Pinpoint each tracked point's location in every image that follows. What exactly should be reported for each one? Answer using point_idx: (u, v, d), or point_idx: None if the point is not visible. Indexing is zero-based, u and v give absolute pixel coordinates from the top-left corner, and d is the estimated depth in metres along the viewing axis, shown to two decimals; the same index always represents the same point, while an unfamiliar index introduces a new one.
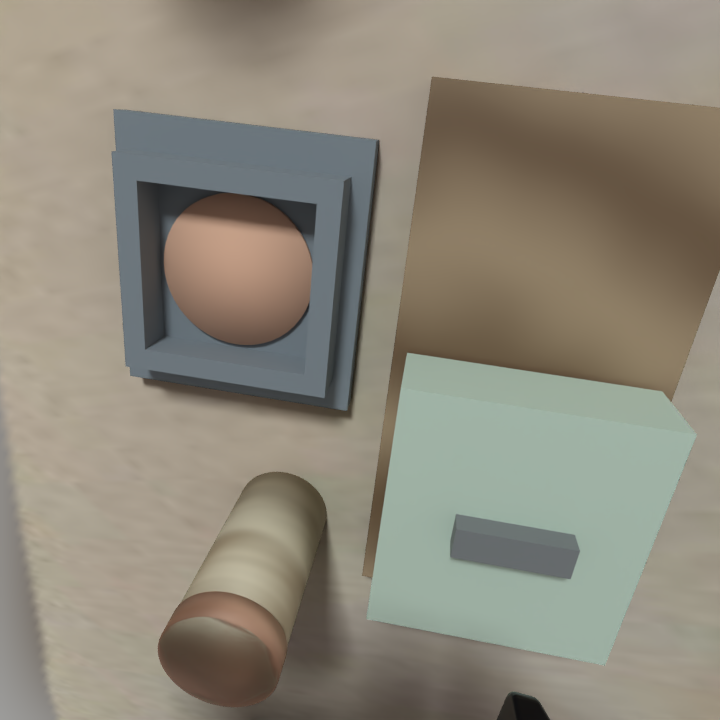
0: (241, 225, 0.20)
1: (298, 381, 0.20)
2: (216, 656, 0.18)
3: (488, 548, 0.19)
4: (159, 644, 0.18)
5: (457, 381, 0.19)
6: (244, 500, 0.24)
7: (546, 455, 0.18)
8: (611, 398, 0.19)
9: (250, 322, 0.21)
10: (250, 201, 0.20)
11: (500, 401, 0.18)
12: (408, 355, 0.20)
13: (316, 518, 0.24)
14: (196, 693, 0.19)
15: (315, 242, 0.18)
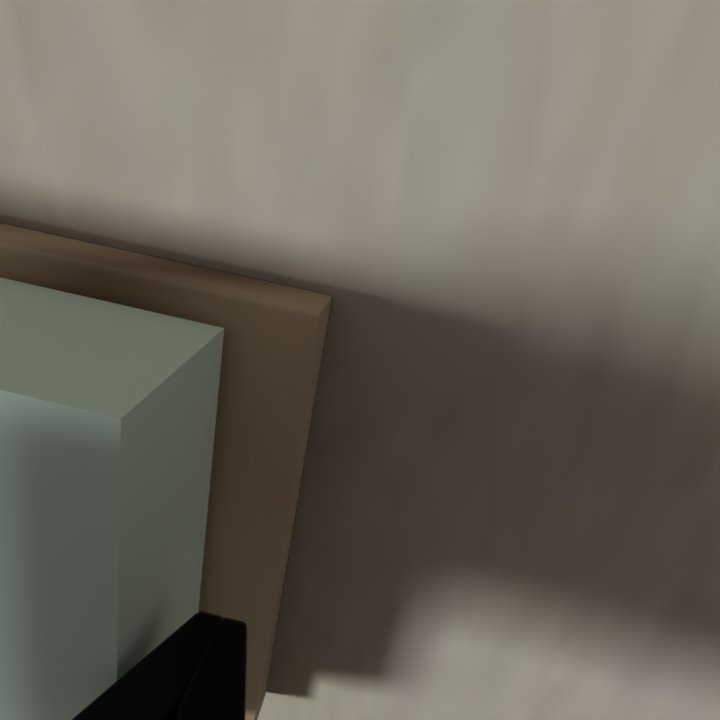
0: None
1: None
2: None
3: None
4: None
5: None
6: None
7: None
8: None
9: None
10: None
11: None
12: None
13: None
14: None
15: None
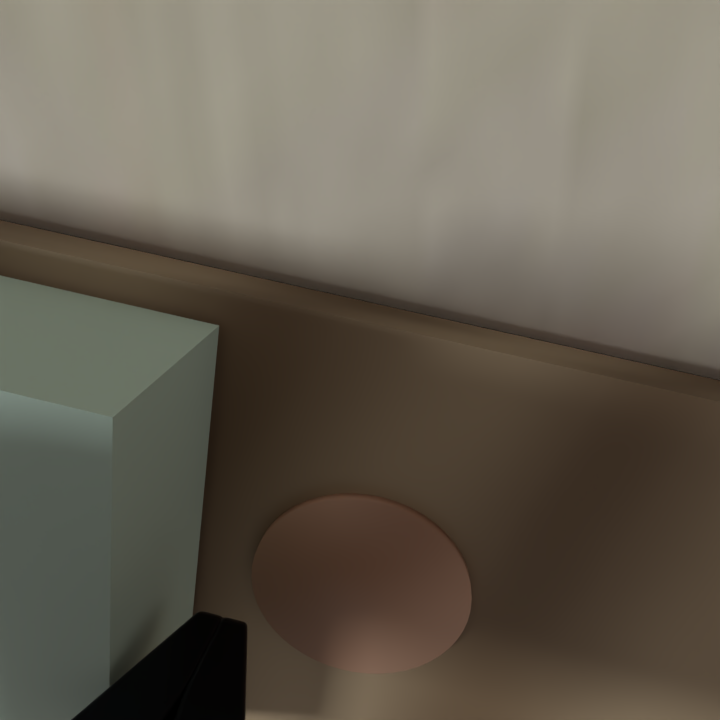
0: None
1: None
2: None
3: None
4: None
5: None
6: None
7: None
8: None
9: None
10: None
11: None
12: None
13: None
14: None
15: None
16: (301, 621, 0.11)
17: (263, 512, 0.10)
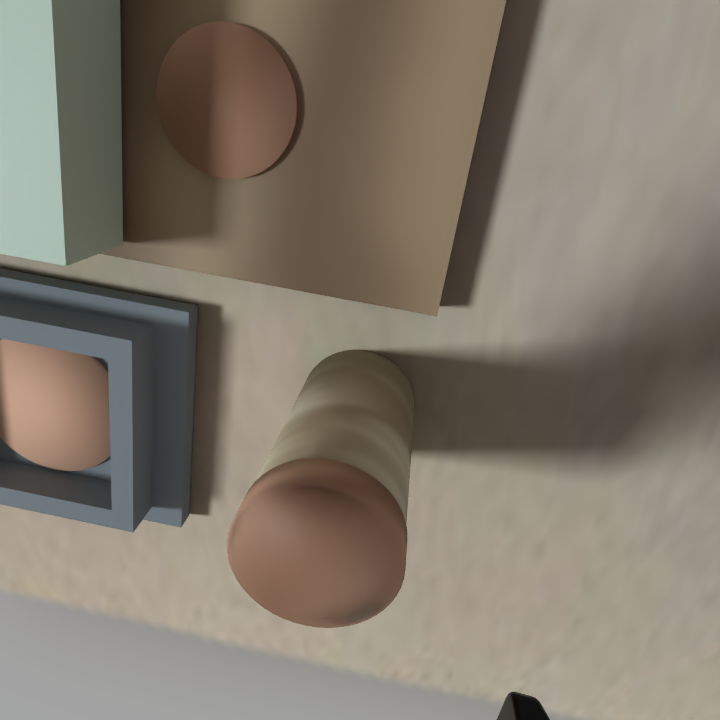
0: (4, 394, 0.21)
1: (117, 366, 0.18)
2: (301, 558, 0.13)
3: None
4: (293, 620, 0.14)
5: None
6: None
7: None
8: None
9: (97, 401, 0.20)
10: None
11: None
12: None
13: (333, 367, 0.18)
14: (381, 599, 0.13)
15: None
16: (192, 138, 0.16)
17: (161, 50, 0.16)
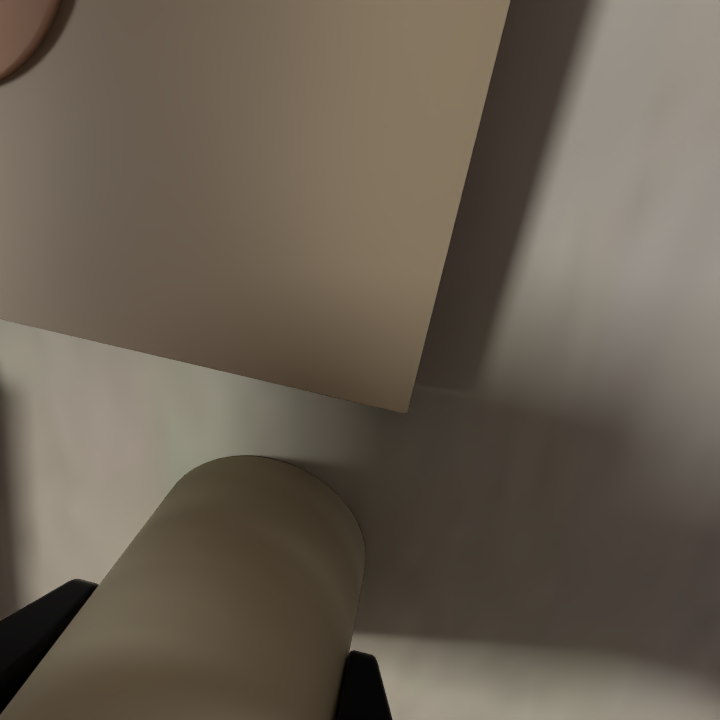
0: None
1: None
2: None
3: None
4: None
5: None
6: None
7: None
8: None
9: None
10: None
11: None
12: None
13: (192, 503, 0.09)
14: None
15: None
16: None
17: None
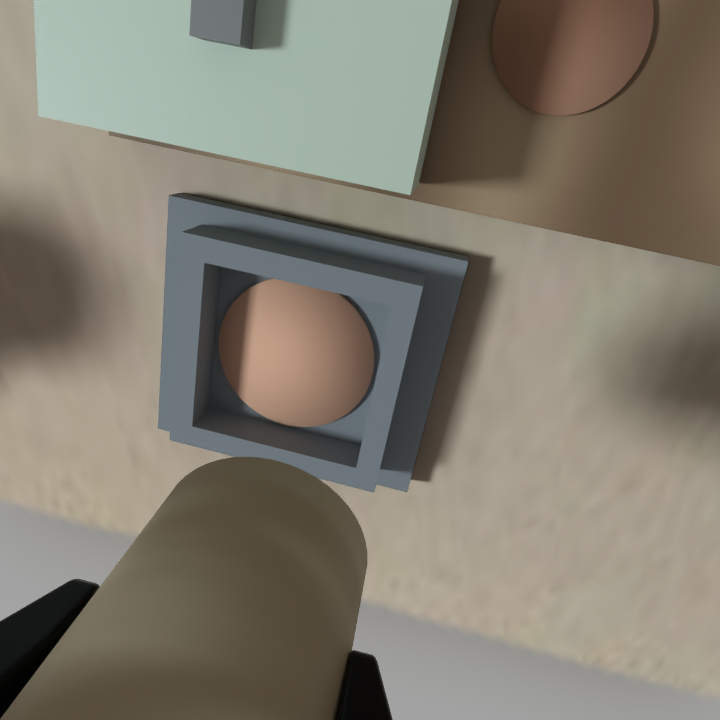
0: (247, 342, 0.20)
1: (399, 313, 0.17)
2: None
3: None
4: None
5: None
6: None
7: None
8: None
9: (348, 354, 0.19)
10: (225, 328, 0.20)
11: None
12: None
13: (194, 504, 0.09)
14: None
15: (241, 269, 0.18)
16: (523, 70, 0.15)
17: None
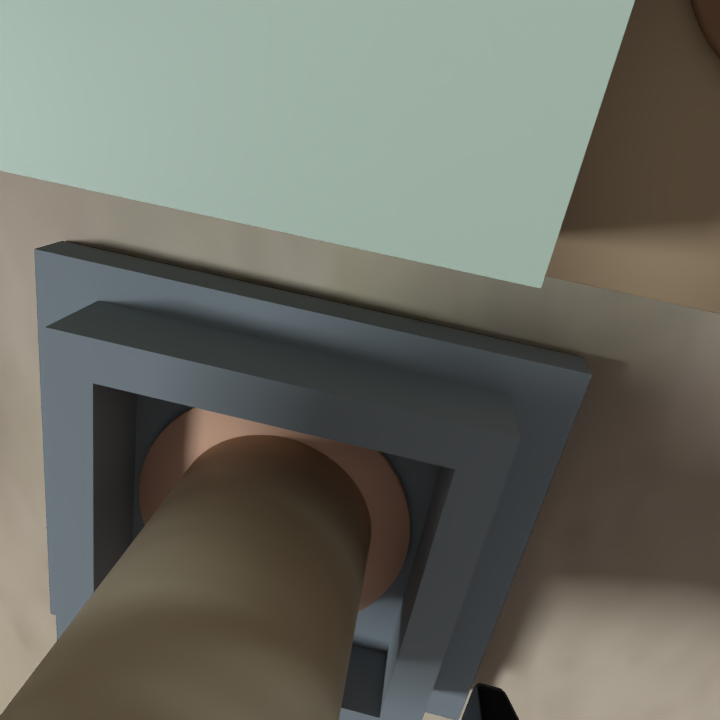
0: None
1: (470, 484, 0.09)
2: None
3: None
4: None
5: None
6: None
7: None
8: None
9: None
10: (149, 474, 0.11)
11: None
12: None
13: (212, 475, 0.10)
14: None
15: (164, 397, 0.09)
16: None
17: None
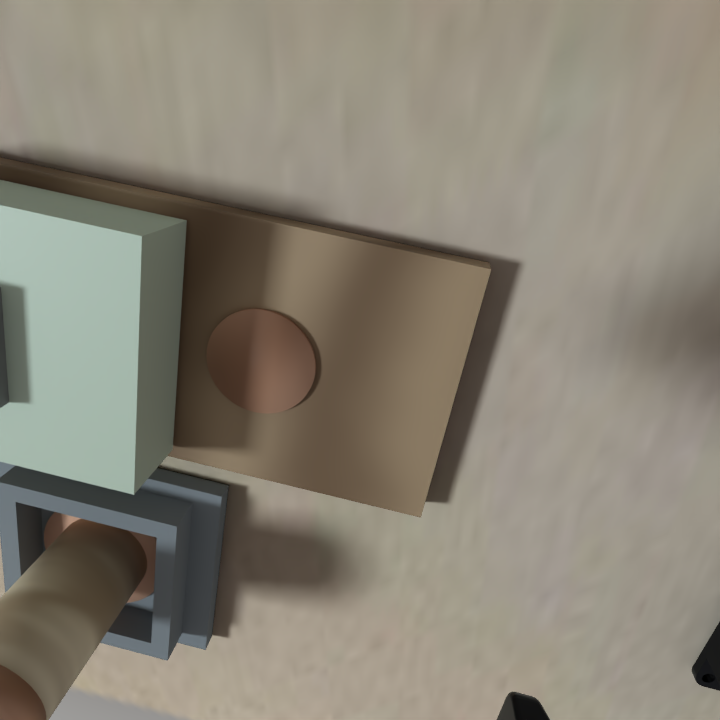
0: None
1: (163, 543, 0.23)
2: None
3: None
4: None
5: None
6: None
7: None
8: None
9: None
10: (48, 532, 0.25)
11: None
12: None
13: (65, 538, 0.23)
14: None
15: (43, 508, 0.23)
16: (232, 383, 0.21)
17: (211, 321, 0.20)
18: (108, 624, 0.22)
